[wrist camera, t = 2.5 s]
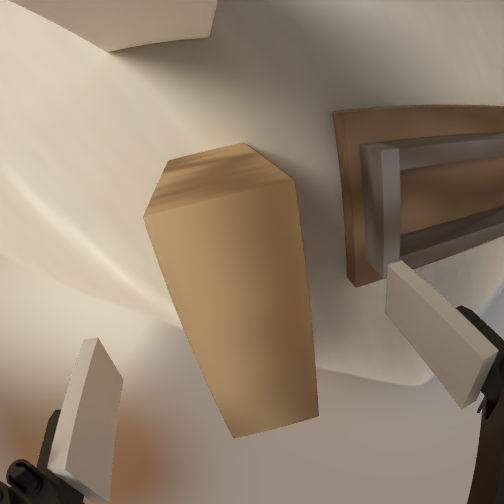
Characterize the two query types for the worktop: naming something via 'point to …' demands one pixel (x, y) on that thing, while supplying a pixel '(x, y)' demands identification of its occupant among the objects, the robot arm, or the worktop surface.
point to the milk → (128, 20)
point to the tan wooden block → (239, 283)
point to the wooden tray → (418, 183)
